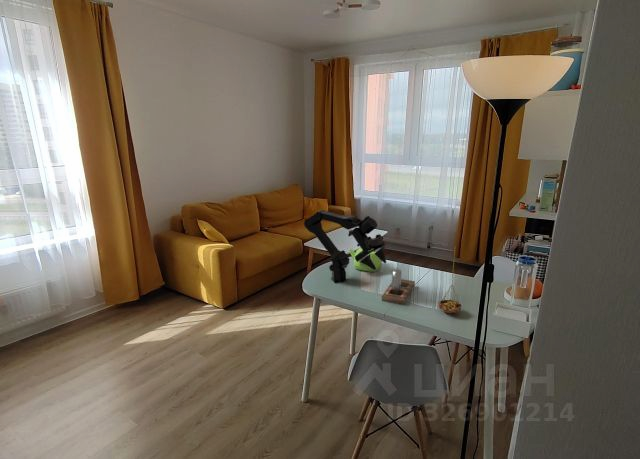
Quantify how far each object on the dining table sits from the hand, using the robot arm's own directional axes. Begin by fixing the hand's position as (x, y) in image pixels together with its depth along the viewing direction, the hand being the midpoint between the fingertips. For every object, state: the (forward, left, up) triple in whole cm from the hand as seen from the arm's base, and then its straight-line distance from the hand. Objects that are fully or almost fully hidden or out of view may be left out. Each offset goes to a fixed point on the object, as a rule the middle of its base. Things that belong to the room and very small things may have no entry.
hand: (380, 266), depth 161 cm
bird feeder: (+18, -28, -14) cm, 36 cm away
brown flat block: (+8, -4, -13) cm, 16 cm away
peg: (+4, -8, -13) cm, 16 cm away
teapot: (+6, +31, -14) cm, 35 cm away
